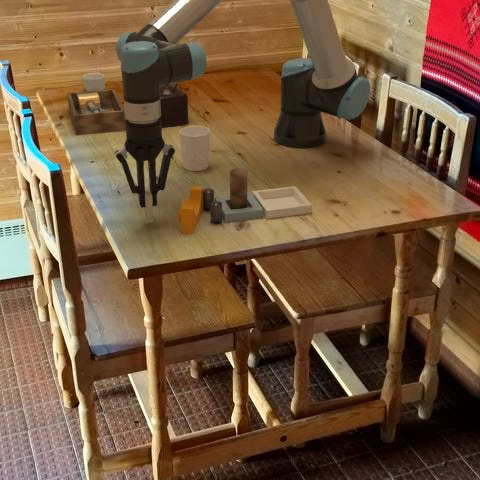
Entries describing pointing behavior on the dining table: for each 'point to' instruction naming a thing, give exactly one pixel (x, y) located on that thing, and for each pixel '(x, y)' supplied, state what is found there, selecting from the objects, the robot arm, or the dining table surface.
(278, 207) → the tray
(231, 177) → the dowel
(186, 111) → the coffee grinder
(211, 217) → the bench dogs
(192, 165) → the white cup
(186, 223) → the pipe clamp
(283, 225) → the dining table surface
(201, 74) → the robot arm
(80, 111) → the vise
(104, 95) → the tool caddy
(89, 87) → the teacup
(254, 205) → the jig block
